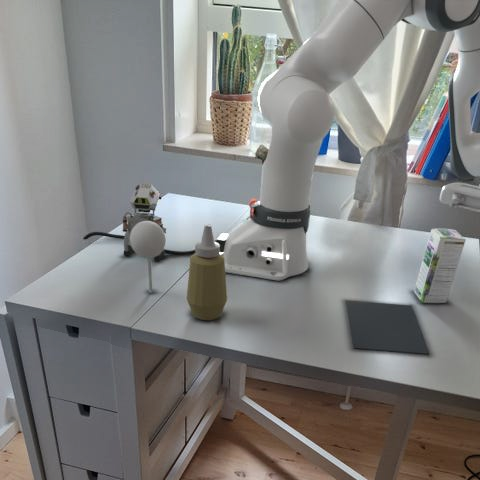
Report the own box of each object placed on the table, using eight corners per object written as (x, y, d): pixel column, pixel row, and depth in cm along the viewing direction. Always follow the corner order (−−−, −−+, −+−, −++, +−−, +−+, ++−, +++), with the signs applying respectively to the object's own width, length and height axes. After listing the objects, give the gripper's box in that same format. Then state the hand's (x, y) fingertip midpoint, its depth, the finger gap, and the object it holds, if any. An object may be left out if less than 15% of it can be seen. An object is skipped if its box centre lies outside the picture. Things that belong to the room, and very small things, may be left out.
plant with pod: (277, 230, 155) (285, 150, 142) (241, 221, 159) (245, 143, 146) (290, 221, 160) (298, 145, 148) (255, 213, 164) (260, 138, 152)
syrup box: (412, 292, 128) (429, 227, 119) (438, 292, 128) (456, 228, 119) (421, 303, 123) (439, 237, 114) (447, 303, 124) (467, 238, 115)
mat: (353, 348, 107) (354, 347, 107) (346, 301, 122) (346, 300, 122) (428, 354, 106) (428, 353, 106) (410, 306, 122) (411, 305, 122)
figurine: (173, 247, 141) (171, 184, 132) (156, 264, 132) (153, 198, 123) (138, 242, 143) (134, 180, 133) (120, 259, 134) (114, 193, 125)
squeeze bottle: (221, 326, 111) (224, 235, 100) (181, 320, 112) (180, 230, 101) (230, 308, 117) (234, 220, 106) (192, 302, 118) (192, 215, 107)
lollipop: (173, 288, 123) (170, 219, 114) (158, 302, 118) (155, 230, 108) (143, 282, 125) (138, 213, 115) (128, 295, 119) (121, 224, 110)
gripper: (457, 172, 134) (432, 183, 126) (545, 191, 125) (526, 205, 116) (449, 199, 138) (425, 212, 130) (535, 220, 129) (515, 235, 120)
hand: (473, 209), depth 123 cm, fingers open, 8 cm apart
